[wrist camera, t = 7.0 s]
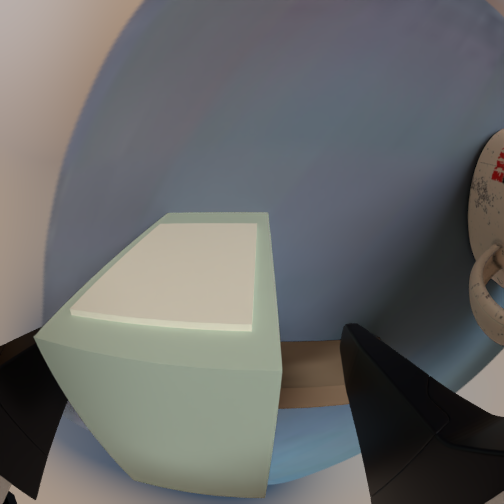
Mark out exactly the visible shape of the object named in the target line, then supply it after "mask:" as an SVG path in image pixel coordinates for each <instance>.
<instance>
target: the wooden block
mask: <svg viewBox="0 0 504 504" xmlns="http://www.w3.org/2000/svg"><path fill="white" fill-rule="evenodd" d="M377 338H378V339H380V338H379V337H377ZM340 341H341V340H331V341H303V342H280V346H281V358H282V379H281V388H280V397H279V405H278V409H285V408H309V407H323V406H335V405H344V404H349V400H348V396H347V392H346V388H345V382H344V375H343V368H342V361H341V355H340Z"/></svg>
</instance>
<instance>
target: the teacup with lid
mask: <svg viewBox="0 0 504 504" xmlns="http://www.w3.org/2000/svg"><path fill="white" fill-rule="evenodd" d="M468 230H469V238H470V244H471V249H472V252H473V255H474V258H475V260H476V262H475V264H474V266H473V268H472V270H471V273H470V279H469V298H470V305H471V309H472V312H473V315H474V317H475V319H476V321H477V323H478V325H479V326H480V328H481V329H482V330H483V332H484V333H485V334H486V335H487V336H488V337H489V338H490V339H492V340H493V341H494V342H496V343H498V344H499V345H502V346H504V309H503V308H502V307H500V306H499V305H498V304H497V303H496V302H495V301H494V300H493V299H492V297H491V296H490V294H489V293H488V291H487V289H486V287H485V286H486V284H487V283H488V281H489V280H490V279H493V280H494V281H495V282H496V283H498V284H499V285H500V286H501V287H502V288H504V129H502V130H500V131H499V132H497V133H496V134H495V135H493V136H492V138H491V139H490V140H489V141H488V143H487V144H486V146H485V147H484V149H483V151H482V153H481V155H480V157H479V160H478V162H477V165H476V168H475V171H474V175H473V179H472V184H471V189H470V195H469V205H468Z"/></svg>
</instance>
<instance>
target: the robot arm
mask: <svg viewBox="0 0 504 504" xmlns="http://www.w3.org/2000/svg"><path fill="white" fill-rule="evenodd" d="M42 327H43V326H42ZM42 327H40V328H38V329H36V330H34V331H31V332H29V333H27V334H25V335H23V336H21V337H19V338H16V339H14V340H12V341H10V342H8V343H6V344H4V345H2V346H0V504H17V502H16V499H15V496H14V495H13V494H12V493H11V492H10V491H9V489H10V487H11V485H14V486H15V487H17V488H18V489H19V490H21V491H22V492H24V493H25V494H27V495H28V496H30V497H31V498H33V499H34V500H36V498H37V495H38V491H39V487H40V483H41V479H42V475H43V472H44V468H45V465H46V461H47V458H48V454H49V451H50V448H51V445H52V442H53V439H54V436H55V433H56V430H57V427H58V425H59V422H60V419H61V417H62V414H63V411H64V409H65V406H66V404H67V401H68V399H67V397H66V396H65V394H64V392H63V391H62V389H61V388H60V386H59V384H58V383H57V381H56V379H55V377H54V376H53V374H52V372H51V370H50V369H49V367H48V365H47V363H46V361H45V359H44V357H43V355H42V353H41V351H40V349H39V347H38V345H37V343H36V341H35V339H34V336H35V335H36V334H37V333H38V332H39V331H40V329H41V328H42ZM340 355H341V361H342V368H343V375H344V382H345V388H346V392H347V396H348V400H349V404H350V408H351V412H352V416H353V420H354V424H355V428H356V432H357V436H358V441H359V445H360V449H361V454H362V458H363V463H364V467H365V472H366V477H367V482H368V486H369V492H370V497H371V504H504V417H500V416H495V415H492V414H490V413H488V412H486V411H485V410H483V409H481V408H479V407H478V406H476V405H474V404H472V403H471V402H469V401H467V400H466V399H464V398H462V397H461V396H459V395H457V394H456V393H454V392H452V391H451V390H449V389H448V388H446V387H445V386H444V385H442V384H441V383H439V382H438V381H436V380H435V379H434V378H432V377H431V376H430V377H429V375H428V374H427V373H425V372H424V371H422V370H421V369H420V368H418V367H417V366H416V365H414V364H413V363H411V362H410V361H409V360H407V359H406V358H405V357H403V356H402V355H400V354H399V353H398V352H396V351H395V350H393V349H392V348H391V347H389V346H388V345H387V344H385V343H384V342H382V341H381V340H380V339H378V338H377V337H375V336H374V335H373V334H371V333H370V332H369V331H367V330H366V329H364V328H363V327H362V326H360V325H359V324H357V323H350V324H345V326H344V328H343V332H342V337H341V341H340Z"/></svg>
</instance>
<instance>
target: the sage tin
mask: <svg viewBox="0 0 504 504" xmlns="http://www.w3.org/2000/svg"><path fill="white" fill-rule="evenodd" d="M34 339H35V341H36V343H37V345H38V347H39V349H40V351H41V353H42V355H43V357H44V359H45V361H46V363H47V365H48V367H49V369H50V370H51V372H52V374H53V376H54V377H55V379H56V381H57V383H58V384H59V386H60V388H61V389H62V391H63V392H64V394H65V396H66V397H67V399H68V400H69V402H70V403H71V405H72V406H73V408H74V409H75V411H76V412H77V413H78V415H79V416H80V418H81V419H82V421H83V422H84V423H85V425H86V426H87V427H88V429H89V430H90V431H91V433H92V434H93V435H94V436H95V438H96V439H97V440H98V441H99V443H100V444H101V445H102V446H103V447H104V449H105V450H106V451H107V452H108V453H109V454H110V455H111V457H112V458H113V459H114V460H115V461H116V462H117V463H118V464H119V466H120V467H121V468H122V469H123V470H124V471H125V472H126V473H127V474H128V475H129V476H130V477H131V478H132V479H133V480H135V481H139V482H143V483H146V484H151V485H155V486H159V487H164V488H169V489H174V490H179V491H185V492H191V493H198V494H206V495H216V496H227V497H245V498H265V495H266V489H267V483H268V476H269V470H270V464H271V457H272V450H273V443H274V436H275V429H276V421H277V413H278V405H279V397H280V388H281V379H282V358H281V346H280V333H279V321H278V310H277V298H276V287H275V276H274V266H273V256H272V245H271V235H270V226H269V216H268V213H263V212H199V213H167V214H166V215H165V216H163V217H162V218H161V219H160V220H158V221H157V222H156V223H155V224H153V225H152V226H151V227H150V228H149V229H147V230H146V231H145V232H144V233H142V234H141V235H140V236H139V237H138V238H136V239H135V240H134V241H133V242H132V243H131V244H129V245H128V246H127V247H126V248H125V249H124V250H122V251H121V252H120V253H119V254H118V255H117V256H116V257H114V258H113V259H112V260H111V261H110V262H109V263H108V264H107V265H105V266H104V267H103V268H102V269H101V270H100V271H99V272H98V273H97V274H96V275H95V276H93V277H92V278H91V279H90V280H89V281H88V282H87V283H86V284H85V285H84V286H83V287H82V288H81V289H80V290H79V291H78V292H77V293H76V294H75V295H74V296H73V297H72V298H71V299H69V300H68V301H67V302H66V303H65V304H64V305H63V306H62V308H61V309H60V310H59V311H58V312H57V313H56V314H55V315H54V316H53V317H52V318H51V319H50V320H49V321H48V322H47V323H46V324H45V325H44V326H43V327H42V328H41V329H40V331H39V332H38V333H37V334H36V335H35V336H34Z"/></svg>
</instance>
